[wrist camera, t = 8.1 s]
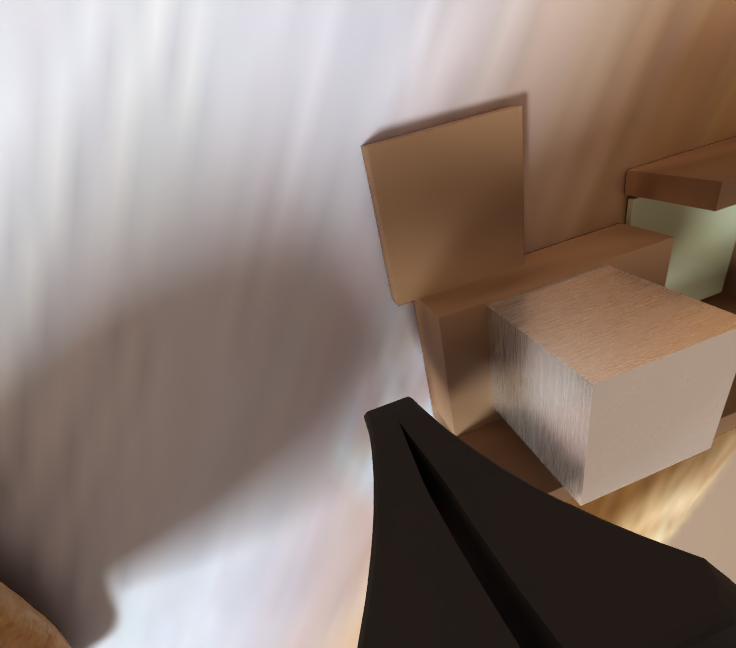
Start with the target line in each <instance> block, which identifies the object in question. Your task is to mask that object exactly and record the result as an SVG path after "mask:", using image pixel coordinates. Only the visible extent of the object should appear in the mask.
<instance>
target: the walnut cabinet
mask: <svg viewBox="0 0 736 648" xmlns="http://www.w3.org/2000/svg"><path fill="white" fill-rule="evenodd" d="M361 149H362V154H363V159H364V164H365V168H366V173H367V178H368V183H369V188H370V193H371V198H372V203H373V208H374V213H375V217H376V222H377V227H378V232H379V237H380V242H381V247H382V252H383V257H384V261H385V266H386V271H387V276H388V281H389V286H390V291H391V296H392V299H393V300H394V301H395V303H396V304H397V305H398V306H400V305H403V304H406V303H409V302H412V301H414V306H415V311H416V317H417V323H418V329H419V334H420V340H421V346H422V352H423V358H424V363H425V369H426V375H427V381H428V386H429V392H430V398H431V404H432V409H433V415H434V418H435V419H436V420H437V421H438V422H439V423H440V424H441V425H443V426H444V427H445V428H446V429H448V430H449V431H450V432H452V433H453V434H454V435H456V436H457V437H458V438H460V439H461V440H462V441H464V442H465V443H466V444H468V445H469V446H471V447H472V448H473V449H475V450H476V451H478V452H479V453H481V454H482V455H484V456H485V457H487V458H488V459H490V460H491V461H493V462H494V463H496V464H497V465H499V466H501V467H502V468H504V469H505V470H507V471H509V472H510V473H512V474H514V475H515V476H517V477H519V478H521V479H522V480H524V481H526V482H528V483H529V484H531V485H533V486H535V487H537V488H539V489H540V490H542V491H544V492H546V493H548V494H550V495H552V496H554V497H556V498H558V499H560V500H562V501H564V502H568V501H570V500H572V499H574V498H573V497H572V496H571V494H570V493H569V492H568V491H567V490H566V489H565V488H564V487H563V485H562V484H561V483H560V482H559V481H558V480H557V479H556V477H555V476H554V475H553V474H552V473H551V472H550V471H549V470H548V468H547V467H546V466H545V465H544V464H543V463H542V462H541V461H540V459H539V458H538V457H537V456H536V455H535V454H534V453H533V451H532V450H531V449H530V448H529V447H528V446H527V445H526V444H525V442H524V441H523V440H522V439H521V438H520V437H519V436H518V435H517V433H516V432H515V431H514V430H513V429H512V428H511V427H510V425H509V424H508V423H507V422H506V421H505V420H504V419H503V418H502V416H501V415H500V414H499V413H498V412H497V411H496V410H495V409H494V407H493V396H492V382H491V367H490V352H489V338H488V323H487V308H486V305H488V304H491V303H494V302H497V301H500V300H502V299H505V298H508V297H511V296H514V295H517V294H520V293H523V292H525V291H528V290H531V289H534V288H537V287H540V286H543V285H546V284H548V283H551V282H554V281H557V280H560V279H563V278H566V277H569V276H572V275H574V274H577V273H580V272H583V271H586V270H589V269H592V268H595V267H597V266H600V265H603V264H606V265H609V266H612V267H614V268H617V269H619V270H622V271H625V272H627V273H630V274H632V275H635V276H637V277H640V278H643V279H645V280H648V281H650V282H653V283H655V284H658V285H661V286H663V287H666V288H668V289H671V290H673V291H676V292H679V293H681V294H684V295H686V296H689V297H691V298H694V299H697V300H699V301H702V302H704V303H707V304H709V305H712V306H715V307H717V308H720V309H722V310H725V311H728V312H730V313H733V314H735V315H736V136H735V137H732V138H729V139H725V140H722V141H719V142H716V143H713V144H709V145H706V146H703V147H700V148H696V149H693V150H690V151H687V152H683V153H680V154H677V155H674V156H671V157H667V158H664V159H661V160H658V161H654V162H651V163H648V164H645V165H642V166H638V167H635V168H632V169H629V170H627V175H626V184H625V192H624V194H625V195H631V196H635V197H632V198H629V199H628V207H627V215H626V223H625V224H624V223H619V224H616V225H613V226H610V227H607V228H604V229H601V230H598V231H595V232H592V233H589V234H586V235H583V236H580V237H577V238H574V239H570V240H567V241H564V242H561V243H558V244H555V245H552V246H549V247H546V248H543V249H540V250H537V251H534V252H531V253H528V254H525V255H524V210H523V115H522V105H521V106H508V107H504V108H501V109H497V110H493V111H490V112H486V113H482V114H478V115H475V116H471V117H467V118H464V119H460V120H456V121H452V122H449V123H445V124H441V125H438V126H434V127H430V128H426V129H423V130H419V131H415V132H412V133H408V134H404V135H400V136H397V137H393V138H389V139H386V140H382V141H378V142H374V143H371V144H367V145H363V146H361ZM712 295H713V296H712ZM704 298H705V299H704ZM734 428H736V374H735V377H734V380H733V383H732V386H731V389H730V392H729V395H728V398H727V401H726V403H725V406H724V409H723V412H722V415H721V418H720V421H719V424H718V427H717V430H716V433H715V436H714V437H716V436H718V435H720V434H723V433H725V432H727V431H729V430H732V429H734Z"/></svg>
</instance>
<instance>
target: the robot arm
mask: <svg viewBox="0 0 736 648" xmlns="http://www.w3.org/2000/svg"><path fill="white" fill-rule="evenodd" d="M364 418H365V422H366V425H367V428H368V432H369V435H370V441H371V449H372V460H373V475H374V514H373V534H372V547H371V558H370V567H369V576H368V585H367V592H366V599H365V606H364V612H363V618H362V624H361V629H360V635H359V641H358V647H357V648H736V584H735V583H733V582H732V581H731V580H730V579H729V578H728V577H727V576H725V575H724V574H723V573H721V572H720V571H719V570H717V569H716V568H715V567H714V566H713V565H711V564H710V563H709V562H708V561H707V560H706V559H704V558H701V557H699V556H696V555H693V554H690V553H687V552H685V551H682V550H679V549H676V548H673V547H671V546H668V545H665V544H662V543H660V542H657V541H654V540H652V539H649V538H646V537H644V536H641V535H639V534H636V533H634V532H631V531H629V530H627V529H624V528H622V527H619V526H617V525H614V524H612V523H610V522H607V521H605V520H603V519H600V518H598V517H596V516H594V515H592V514H590V513H588V512H585V511H583V510H581V509H579V508H577V507H575V506H573V505H570V504H568V503H566V502H564V501H562V500H560V499H558V498H556V497H554V496H552V495H550V494H548V493H546V492H544V491H542V490H540V489H539V488H537V487H535V486H533V485H531V484H529V483H528V482H526V481H524V480H522V479H521V478H519V477H517V476H515V475H514V474H512V473H510V472H509V471H507V470H505V469H504V468H502V467H501V466H499V465H497V464H496V463H494V462H493V461H491V460H490V459H488V458H487V457H485V456H484V455H482V454H481V453H479V452H478V451H476V450H475V449H473V448H472V447H471V446H469V445H468V444H466V443H465V442H464V441H462V440H461V439H460V438H458V437H457V436H456V435H454V434H453V433H452V432H450V431H449V430H448V429H446V428H445V427H444V426H443V425H441V424H440V423H439V422H438V421H437V420H435V419H434V418H433V417H432V416H431V415H429V414H428V413H427V412H426V411H425V410H424V409H423V408H422V407H420V406H419V405H418V404H417V403H416V402H415V401H414V400H413V399H412V398H410V397H405V398H403V399H400V400H397V401H395V402H392V403H389V404H387V405H384V406H381V407H379V408H376V409H373V410H370V411H368V412H366V414H365V415H364Z"/></svg>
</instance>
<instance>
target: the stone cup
mask: <svg viewBox="0 0 736 648" xmlns="http://www.w3.org/2000/svg"><path fill="white" fill-rule="evenodd" d="M0 648H72V647H71V646H70V644H69V643H68V642H67V640H66V639H65V638H64V636H63V635H62V634H61V633H60V631H59V630H58V629H57V628H56V627H55V626H54V625H53V624H52V623H51V622H50V621H49V620H48V619H47V618H46V617H45V616H44V615H42V614H41V613H40V612H39V611H37V610H36V609H35V608H34V607H32V606H31V605H30V604H29V603H28V602H26V601H25V600H24V599H23V598H22V597H21V596H20V595H18V594H17V593H15V592H14V591H12V590H11V589H9V588H8V587H7V586H6V585H4V584H3V583H2V582H1V581H0Z"/></svg>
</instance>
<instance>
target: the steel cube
mask: <svg viewBox="0 0 736 648" xmlns="http://www.w3.org/2000/svg"><path fill="white" fill-rule="evenodd" d="M486 308H487V323H488V338H489V352H490V367H491V382H492V396H493V407H494V409H495V410H496V411H497V412H498V413H499V414H500V415H501V416H502V418H503V419H504V420H505V421H506V422H507V423H508V424H509V425H510V427H511V428H512V429H513V430H514V431H515V432H516V433H517V435H518V436H519V437H520V438H521V439H522V440H523V441H524V442H525V444H526V445H527V446H528V447H529V448H530V449H531V450H532V451H533V453H534V454H535V455H536V456H537V457H538V458H539V459H540V461H541V462H542V463H543V464H544V465H545V466H546V467H547V468H548V470H549V471H550V472H551V473H552V474H553V475H554V476H555V477H556V479H557V480H558V481H559V482H560V483H561V484H562V485H563V487H564V488H565V489H566V490H567V491H568V492H569V493H570V494H571V496H572V497H573V498H574V499H575V500H576V501H577V502H578V503H579V505H580V506H582V505H584V504H586V503H589V502H591V501H593V500H595V499H598V498H600V497H602V496H604V495H607V494H609V493H611V492H613V491H616V490H618V489H620V488H622V487H625V486H627V485H629V484H631V483H634V482H636V481H638V480H640V479H643V478H645V477H647V476H649V475H652V474H654V473H656V472H658V471H661V470H663V469H665V468H667V467H670V466H672V465H674V464H676V463H679V462H681V461H683V460H685V459H688V458H690V457H692V456H694V455H697V454H699V453H701V452H703V451H706V450H708V449H710V448H711V445H712V442H713V439H714V436H715V433H716V430H717V427H718V424H719V421H720V418H721V415H722V412H723V409H724V406H725V403H726V401H727V398H728V395H729V392H730V389H731V386H732V383H733V380H734V377H735V374H736V315H735V314H733V313H730V312H728V311H725V310H722V309H720V308H717V307H715V306H712V305H709V304H707V303H704V302H702V301H699V300H697V299H694V298H691V297H689V296H686V295H684V294H681V293H679V292H676V291H673V290H671V289H668V288H666V287H663V286H661V285H658V284H655V283H653V282H650V281H648V280H645V279H643V278H640V277H637V276H635V275H632V274H630V273H627V272H625V271H622V270H619V269H617V268H614V267H612V266H609V265H606V264H603V265H600V266H597V267H595V268H592V269H589V270H586V271H583V272H580V273H577V274H574V275H572V276H569V277H566V278H563V279H560V280H557V281H554V282H551V283H548V284H546V285H543V286H540V287H537V288H534V289H531V290H528V291H525V292H523V293H520V294H517V295H514V296H511V297H508V298H505V299H502V300H500V301H497V302H494V303H491V304H488V305H486Z"/></svg>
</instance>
